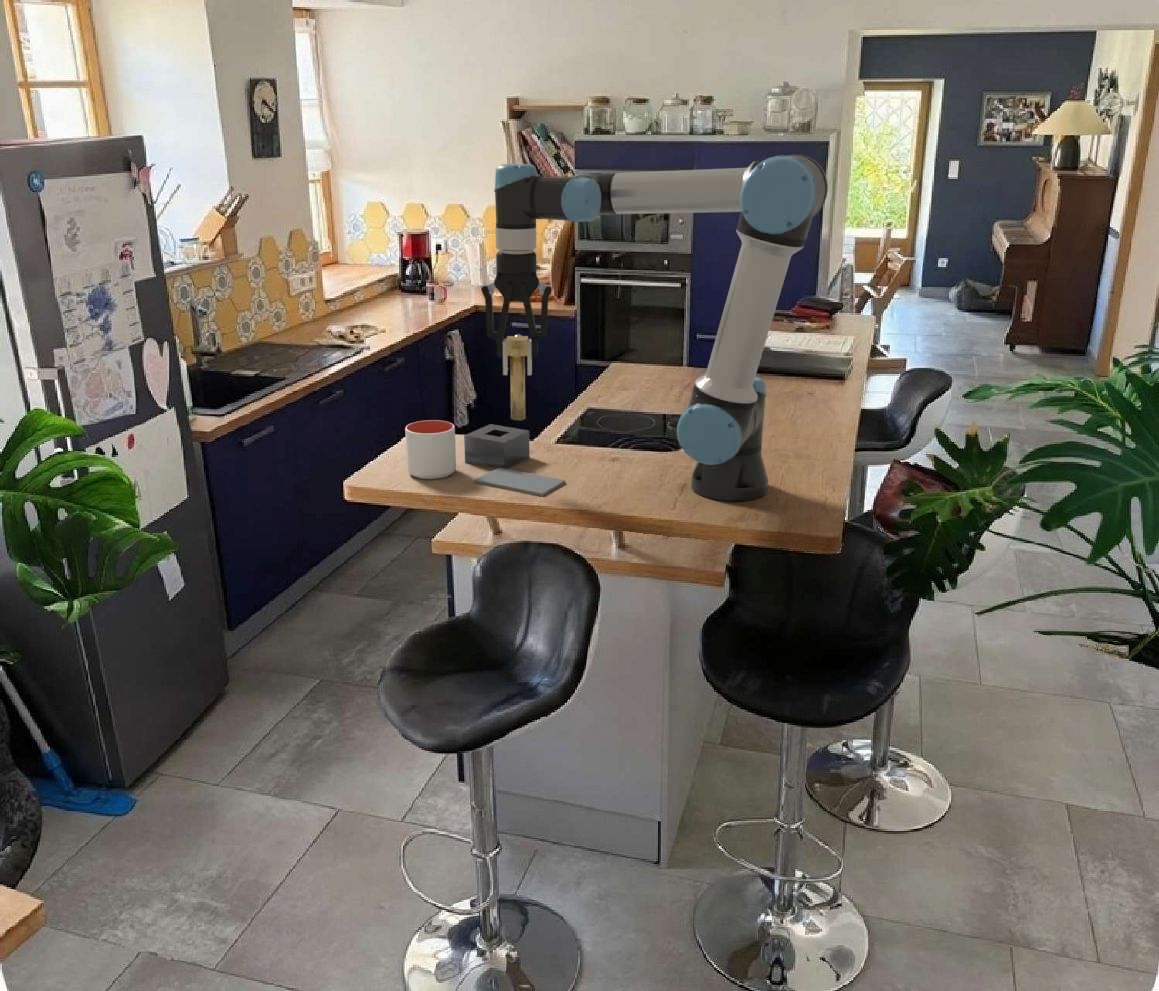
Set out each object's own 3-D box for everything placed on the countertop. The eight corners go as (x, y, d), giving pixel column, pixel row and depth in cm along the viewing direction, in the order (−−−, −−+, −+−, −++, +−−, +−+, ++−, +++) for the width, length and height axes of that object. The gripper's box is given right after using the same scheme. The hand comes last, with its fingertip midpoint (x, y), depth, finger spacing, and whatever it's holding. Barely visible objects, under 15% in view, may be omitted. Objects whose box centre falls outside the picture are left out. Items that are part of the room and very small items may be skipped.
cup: (447, 482, 206) (445, 435, 203) (400, 479, 208) (397, 432, 205) (462, 467, 215) (460, 421, 212) (417, 463, 217) (415, 418, 214)
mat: (565, 482, 206) (565, 480, 206) (542, 496, 199) (542, 493, 199) (499, 469, 214) (499, 467, 213) (474, 482, 206) (474, 479, 206)
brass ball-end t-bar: (527, 428, 196) (526, 345, 190) (506, 428, 195) (505, 345, 190) (529, 409, 208) (528, 331, 202) (509, 409, 208) (508, 331, 202)
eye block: (529, 457, 222) (529, 430, 220) (504, 470, 214) (503, 442, 212) (491, 450, 226) (490, 424, 224) (465, 462, 218) (464, 435, 216)
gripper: (562, 248, 194) (561, 369, 202) (472, 248, 194) (475, 368, 202) (562, 253, 187) (561, 378, 195) (468, 253, 187) (472, 377, 195)
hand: (517, 373), depth 198 cm, fingers closed on brass ball-end t-bar, 4 cm apart
